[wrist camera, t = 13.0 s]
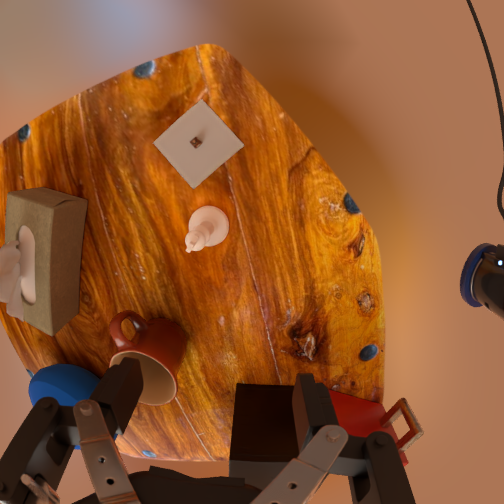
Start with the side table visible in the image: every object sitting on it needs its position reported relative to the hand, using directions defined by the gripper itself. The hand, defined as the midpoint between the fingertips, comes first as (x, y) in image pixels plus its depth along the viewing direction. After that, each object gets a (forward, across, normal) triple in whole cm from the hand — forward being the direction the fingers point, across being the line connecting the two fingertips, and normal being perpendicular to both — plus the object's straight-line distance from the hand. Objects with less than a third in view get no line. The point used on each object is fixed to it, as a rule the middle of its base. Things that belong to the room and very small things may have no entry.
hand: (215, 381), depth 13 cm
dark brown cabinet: (+23, -6, +29) cm, 37 cm away
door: (+22, -21, +21) cm, 37 cm away
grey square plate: (+23, +6, -13) cm, 27 cm away
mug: (+23, +11, +12) cm, 28 cm away
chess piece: (+23, +4, -3) cm, 24 cm away
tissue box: (+24, +28, +2) cm, 36 cm away
